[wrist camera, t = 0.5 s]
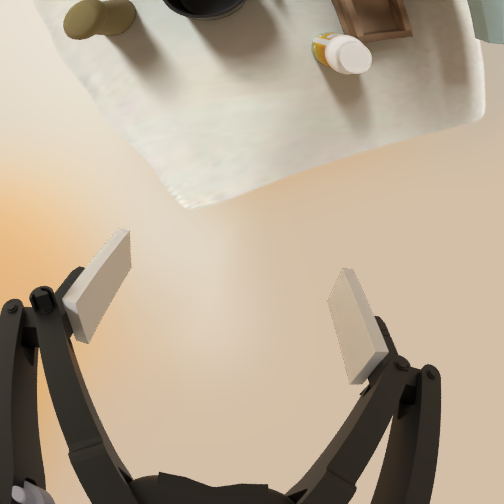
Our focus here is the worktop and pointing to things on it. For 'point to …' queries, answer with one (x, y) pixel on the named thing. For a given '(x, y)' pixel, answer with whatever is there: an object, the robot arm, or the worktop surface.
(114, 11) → the cork
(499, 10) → the plank
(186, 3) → the mug
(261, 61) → the worktop surface
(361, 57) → the supplement bottle
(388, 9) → the brown wooden square tray
